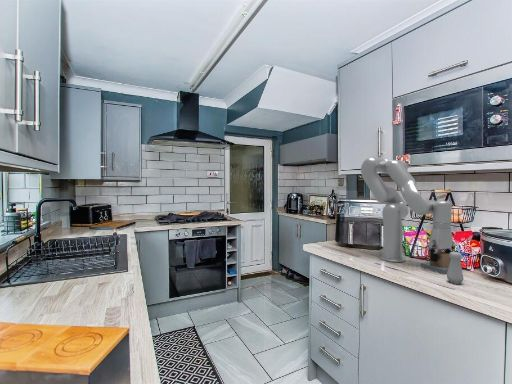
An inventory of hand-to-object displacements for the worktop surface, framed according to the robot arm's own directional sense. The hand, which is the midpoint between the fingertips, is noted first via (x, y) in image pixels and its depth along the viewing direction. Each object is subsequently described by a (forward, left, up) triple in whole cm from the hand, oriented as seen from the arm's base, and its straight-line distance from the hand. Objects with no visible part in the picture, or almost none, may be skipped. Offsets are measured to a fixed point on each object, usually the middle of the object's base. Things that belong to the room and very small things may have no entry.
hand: (441, 260), depth 132 cm
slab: (0, 0, -4) cm, 4 cm away
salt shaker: (+15, -12, -5) cm, 20 cm away
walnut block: (0, 0, -2) cm, 2 cm away
